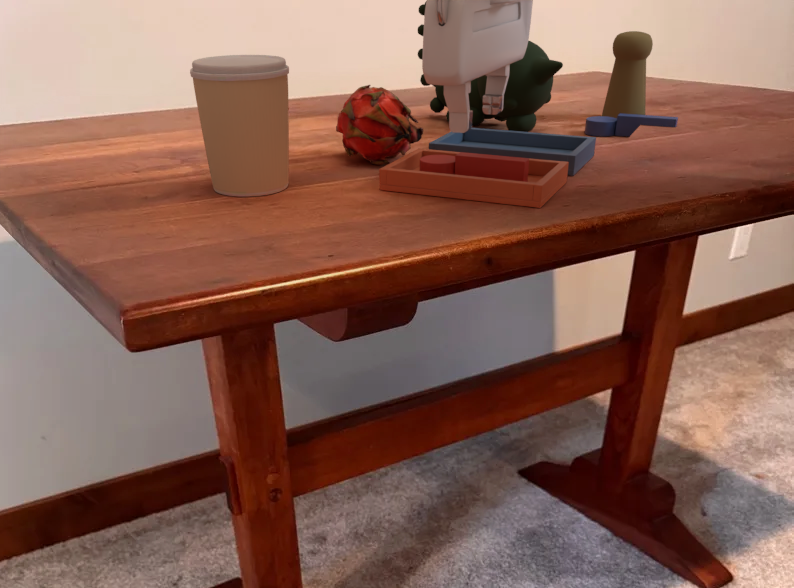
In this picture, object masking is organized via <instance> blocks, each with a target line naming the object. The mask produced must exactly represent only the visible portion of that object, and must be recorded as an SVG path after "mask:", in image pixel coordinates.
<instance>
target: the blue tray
mask: <svg viewBox="0 0 794 588" xmlns="http://www.w3.org/2000/svg"><path fill="white" fill-rule="evenodd" d="M596 143H597V136H585V135H584V136H583V135H571V134H557V133H547V132H546V133H544V132H535V131H533V132H532V131H529V132H521V131H509V130H508V129H495V128H494V129H493V128H482V127H472V128H471V129H470V130H468V131H466V132H465V133H456V132H452V131H449V132H447V133H445V134H444V135H442V136H440V137H437V138H435V139H434V140H432V141H430V142H429V143H428V149H431V150H442V151H453V152H465V153H476V154H487V155H498V156H509V157H520V158H531V159H542V160H553V161H564V162H569V165H568V174H567V176H570V177H571V176H572V177H574V176H575V175H576V174H578V172H579V171H580V170H581V169H582V168H583V167H584V166H585V165H586V164H587V163H588V162H589V161H590V160H591V159H593V157H594V156H595V150H596Z"/></svg>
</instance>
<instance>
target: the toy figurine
mask: <svg viewBox="0 0 794 588" xmlns="http://www.w3.org/2000/svg"><path fill="white" fill-rule="evenodd" d="M426 2H427V0H426V1H425V2H424V3H423V4H421V5H419V7H418V13H419V14H420V15H421V16H424V17H425V8H426ZM424 17H423V18H424ZM423 33H424V23H421V24H420V25H418V27H417V35H420V36H421V37H423ZM417 57H418V59H419V60H422V57H423V47H422V48H420V49H419V50H418V51H417ZM563 67H564V64H563V62H562V61H558V60H555V59H550V58H549V56H548V54H547V53H546V52H545V50H544V49H543V48H542V47H540V46H539V45H538V44H537V43H534V42H533V41H531V40H528V45H527V49H526V52H525V55H524V57H523V59H521V60H519V61H516V62H514V63H512V64H510V70H509V78H508V82H507V86H506V90H505V93H504V104H503V110H502V111H501V112H500V113H498V114H496V115H491V114H489V115H488V114H484V113H483V111H482V107H483V96H484V95H486V94H485V91H486V83H487V76H486V75H483V76H481V77H479V78H476V79H474V80H472V81H471V92H470V93H468V95H469V106H470V110H472V111H473V118H472V127H477V126H480V125H481V124H482V123H483V122H484V121H485V120H492V119H494V120H496V121H498V122H505V126H506V128H507V130H508V131H521V132H532V131H533V129H534V128H535V126H536V125H537V120H538V119H537V116H536V112H538V111H539V110H540V109H541V108H542V107H543V106H544V105H547V104H548V103H549V102H550V101H551V100H552V94H551V93H552V89H553V85H554V76H555V75H556V74H557V73H558V72H559V71H560V70H561V69H562V68H563ZM419 81H420V83H421V85H422V86H424V87H429V86H431V85H430V84H427V83H426V80H425V77H424V74H423V73H422V74H421V76H420V79H419ZM432 87H434V88H435V90H434V91H435V96H434V97H433V98H432V100H430V101H429V107H430V111H432V112H434V113H435V114H440V113H442V111H443V110H444V109H445V108H447V104H446V101H445V97H444V85H432ZM445 119H446V121H447V122H448V123H449V111H448V110H447V111H446V114H445Z"/></svg>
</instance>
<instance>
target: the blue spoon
mask: <svg viewBox="0 0 794 588" xmlns="http://www.w3.org/2000/svg"><path fill="white" fill-rule="evenodd" d="M678 122H679V117H678V116H668V115H667V116H666V115H652V114H645V115H637V114H622V113H620V114H619V115H618V116H617V119H616V118H613V117H606V116H602V115H595V116H588V117H586V118H585V125H584V134H585V135H587V136H590V137H599V138H601V137H603V138H604V137H614V136H615V137H624V136H626V138H629V137H631V136H632V135H633V134H634V133H635V131H637V130H638V129H639V127H640V126H649V127H651V126H652V127H666V128H676V127H677V126H678ZM627 136H628V137H627Z"/></svg>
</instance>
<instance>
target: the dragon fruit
mask: <svg viewBox="0 0 794 588" xmlns="http://www.w3.org/2000/svg"><path fill="white" fill-rule="evenodd" d="M410 119H411V121H412V122H414V123H416V124H419V121H418V120H417V119H416V118H414V116H412V110H411V109H410V107H408V105H406V103H404V102H403V101H401V100H400V98H399V97H398V96H397V95H396V94H394V93H393V92H392V91H390V90H388V89H387V88H384V87H382V86H381V87H375V86H372V87H371V84H367V85H363V86H360V87H358V88H357V89H356V90H355V91H354V92H353V93H351V95H350V96H349V97H348V98H347V100H346V101H345V102H344V104H343V107H342V109H341V110H340V112H339V113H338V115H337V123H336V126H335V132H337V133H340V134H342V140H341V141H342V146H343V148H344V151H345V154H346V155H347V156H348V157H352V156H356V155H358V154H360V156H362V157H363V158H364V159H365V160H367V161H369V162H370V164H373V165H378V166H381V165H388V164H390V163H391V162H389V161H388V160H386V158H396V157H397V156H399V155H400V154H401V155H402V156H405V155H406V154H407V152H408V151H409V150H411V146H412V145H413V144H416V143H418V142H420V141H421V140H422V138H423V134H424V128H423V127H419V128H418V127H416V126H414V125H413V124H412V123H411V122H410Z"/></svg>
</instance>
